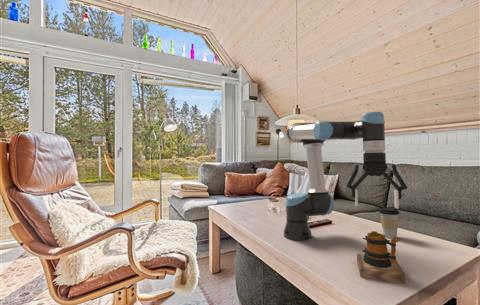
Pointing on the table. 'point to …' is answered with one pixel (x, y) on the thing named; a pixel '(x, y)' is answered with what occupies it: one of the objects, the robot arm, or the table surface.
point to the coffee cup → (389, 221)
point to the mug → (379, 250)
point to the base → (380, 271)
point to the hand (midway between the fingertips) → (376, 206)
